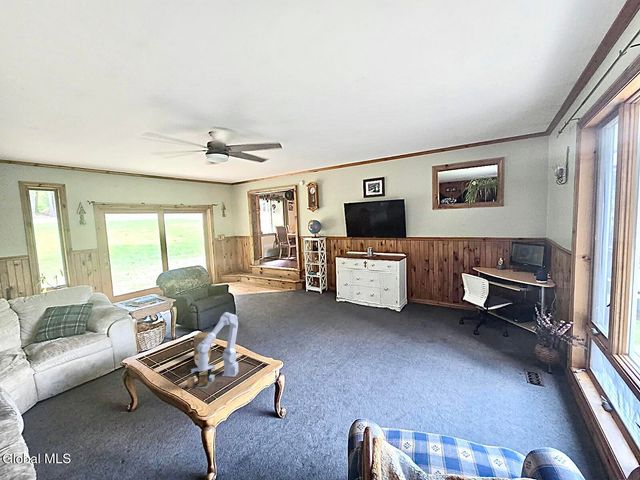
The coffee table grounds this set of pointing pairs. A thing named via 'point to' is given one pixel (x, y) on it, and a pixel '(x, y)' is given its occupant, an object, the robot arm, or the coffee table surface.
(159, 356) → the coffee table surface
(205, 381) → the walnut block
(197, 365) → the lidded jar
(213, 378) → the blue plastic box
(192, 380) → the tan rounded cylinder
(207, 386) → the slate coaster
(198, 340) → the wooden block
